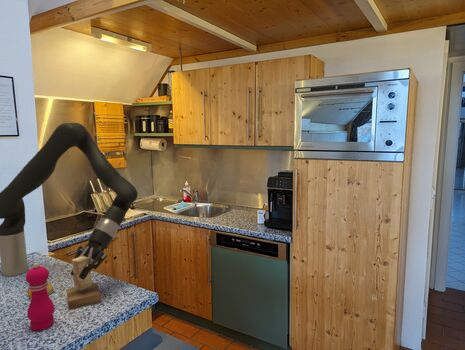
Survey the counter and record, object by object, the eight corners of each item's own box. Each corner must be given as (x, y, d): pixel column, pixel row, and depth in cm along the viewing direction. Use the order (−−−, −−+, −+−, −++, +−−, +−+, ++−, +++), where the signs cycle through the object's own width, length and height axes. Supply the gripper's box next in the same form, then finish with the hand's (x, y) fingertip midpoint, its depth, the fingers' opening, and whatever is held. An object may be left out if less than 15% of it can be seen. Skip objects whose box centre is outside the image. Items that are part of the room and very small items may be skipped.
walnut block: (67, 296, 118) (66, 289, 118) (97, 290, 123) (96, 282, 122) (68, 310, 109) (68, 301, 109) (101, 302, 114) (100, 293, 114)
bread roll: (30, 302, 115) (29, 291, 114) (25, 293, 122) (24, 282, 121) (56, 294, 120) (55, 284, 120) (50, 286, 127) (49, 276, 126)
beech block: (74, 287, 115) (71, 259, 113) (84, 282, 118) (82, 255, 117) (81, 289, 113) (79, 262, 111) (91, 285, 116) (89, 258, 115)
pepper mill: (36, 318, 105) (29, 258, 102) (59, 317, 105) (54, 257, 102) (23, 332, 97) (16, 268, 95) (49, 331, 98) (42, 266, 95)
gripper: (84, 225, 123) (56, 268, 114) (110, 230, 115) (82, 277, 107) (98, 235, 128) (72, 276, 119) (123, 240, 121) (97, 285, 112)
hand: (77, 276), depth 113 cm, fingers closed on beech block, 4 cm apart
